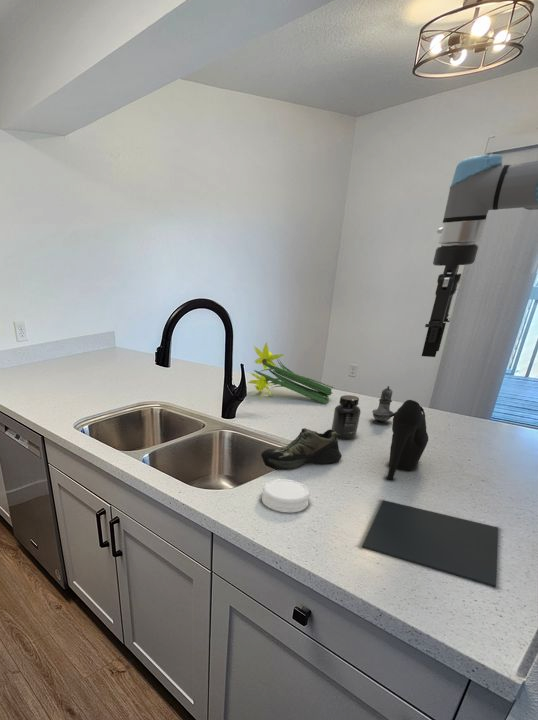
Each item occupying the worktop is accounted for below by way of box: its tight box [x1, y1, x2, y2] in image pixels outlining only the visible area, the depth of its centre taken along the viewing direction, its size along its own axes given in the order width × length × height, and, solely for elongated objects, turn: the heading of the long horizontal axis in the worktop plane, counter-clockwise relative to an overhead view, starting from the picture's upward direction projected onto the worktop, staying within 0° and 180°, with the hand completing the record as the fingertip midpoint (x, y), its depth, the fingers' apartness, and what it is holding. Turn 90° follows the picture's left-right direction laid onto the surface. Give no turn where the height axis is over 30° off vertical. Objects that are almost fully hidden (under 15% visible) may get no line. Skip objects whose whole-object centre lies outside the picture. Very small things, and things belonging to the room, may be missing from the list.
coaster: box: [261, 478, 311, 514], centre depth 97 cm, size 10×10×4 cm
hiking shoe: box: [260, 427, 343, 471], centre depth 114 cm, size 8×21×9 cm, turn 99°
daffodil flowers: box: [247, 342, 336, 405], centre depth 164 cm, size 17×15×35 cm
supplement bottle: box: [331, 394, 361, 441], centre depth 127 cm, size 7×7×12 cm
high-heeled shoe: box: [386, 399, 429, 481], centre depth 105 cm, size 8×19×20 cm, turn 136°
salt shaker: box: [371, 385, 394, 426], centre depth 135 cm, size 6×6×12 cm
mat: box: [361, 499, 499, 588], centre depth 83 cm, size 20×20×1 cm
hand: (430, 353), depth 104 cm, fingers open, 6 cm apart
